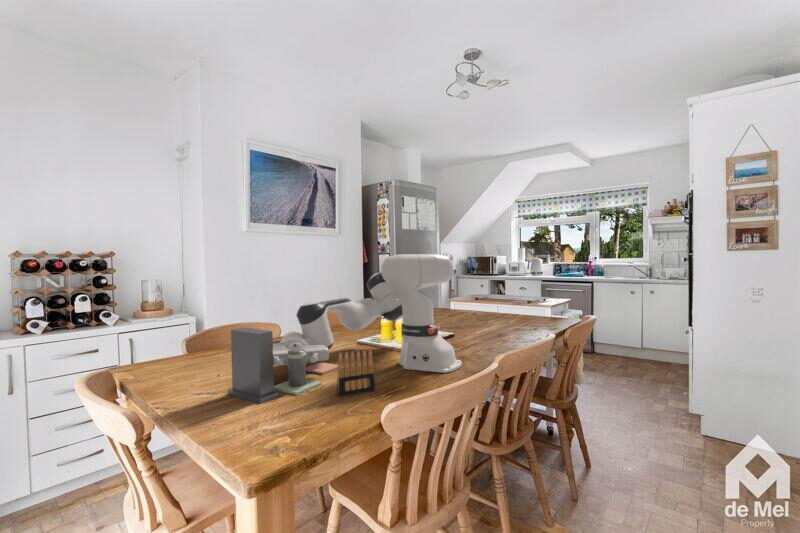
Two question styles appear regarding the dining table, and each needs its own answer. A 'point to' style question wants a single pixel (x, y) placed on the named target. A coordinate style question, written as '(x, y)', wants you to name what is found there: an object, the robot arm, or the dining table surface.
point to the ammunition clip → (355, 374)
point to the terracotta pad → (321, 368)
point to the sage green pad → (297, 390)
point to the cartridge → (297, 367)
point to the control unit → (252, 364)
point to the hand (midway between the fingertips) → (297, 361)
